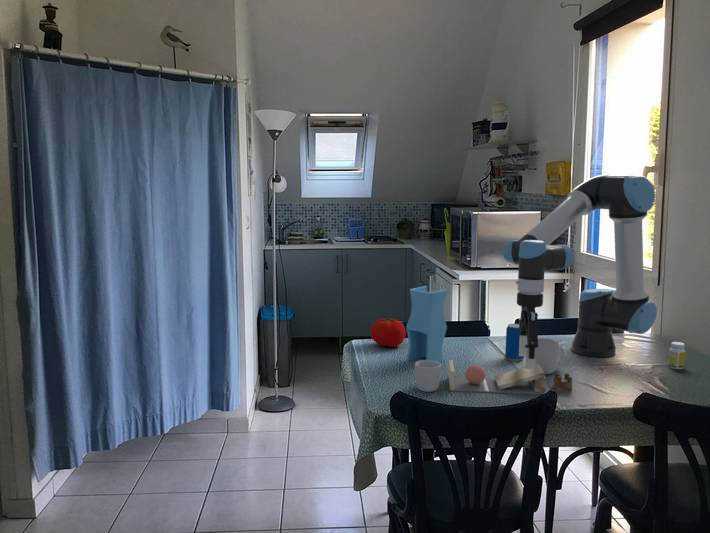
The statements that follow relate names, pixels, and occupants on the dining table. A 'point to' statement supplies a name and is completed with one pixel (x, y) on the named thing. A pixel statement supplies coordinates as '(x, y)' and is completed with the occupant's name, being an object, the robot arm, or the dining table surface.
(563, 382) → the brown block with bumps
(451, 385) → the runway
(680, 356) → the supplement bottle
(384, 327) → the tomato
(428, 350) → the vase
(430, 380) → the cup
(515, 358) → the beverage can
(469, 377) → the ball
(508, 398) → the dining table surface
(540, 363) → the mug
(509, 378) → the ramp
